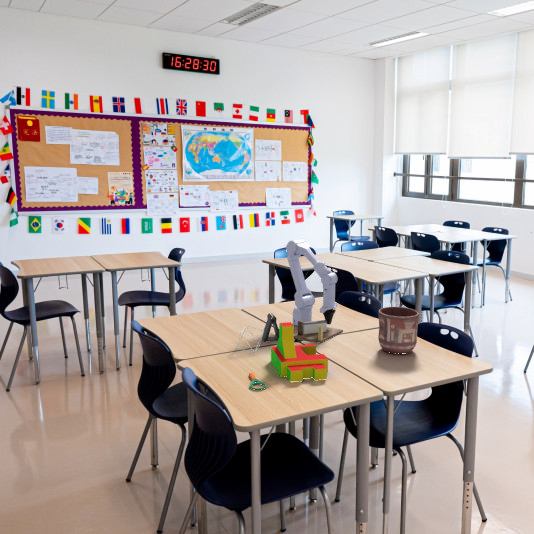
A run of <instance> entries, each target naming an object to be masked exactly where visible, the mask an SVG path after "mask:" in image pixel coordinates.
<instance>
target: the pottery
mask: <svg viewBox="0 0 534 534" xmlns="http://www.w3.org/2000/svg"><path fill="white" fill-rule="evenodd" d="M377 315H378V339H377V340H378V344H379V346H380V348H381V349H382V350H383V351H384V350H385V351H386V353H387V352H390V353H396V354H398V353H399V354H402V353H408V354H410V353H411V352H412V351H413V350H414V349H415V347H416V345H417V343H418V342H417V340H418V327H419V326H418V325H419V320H420V319H419V318H420V313H419V312H418V311H417V310H416V309H413V308H409V307H405V306H387V307H386V306H385V307H381V308H380V309H378V314H377ZM385 351H384V352H385ZM409 352H410V353H409ZM390 353H389V354H390Z"/></svg>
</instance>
